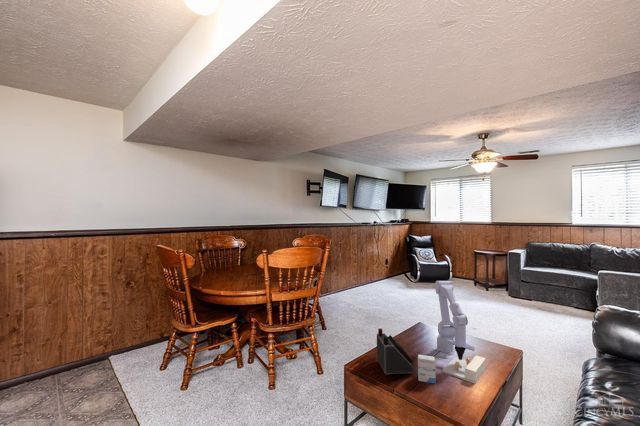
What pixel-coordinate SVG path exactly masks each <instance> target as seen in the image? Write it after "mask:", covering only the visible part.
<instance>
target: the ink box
mask: <svg viewBox="0 0 640 426" xmlns="http://www.w3.org/2000/svg"><path fill="white" fill-rule="evenodd" d="M436 374H437V373H436V358H435V356H430V355H425V354H417V377H418V378H417V379H418V380H417V381H419V382H424V383H429V384H437V383H436V379H437V378H436Z"/></svg>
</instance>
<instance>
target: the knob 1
mask: <svg viewBox="0 0 640 426" xmlns="http://www.w3.org/2000/svg"><path fill="white" fill-rule="evenodd" d="M459 368H461V369H462V366H461V365H460V364H459V362H456V363H455V369H457V370H458V369H459Z"/></svg>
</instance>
